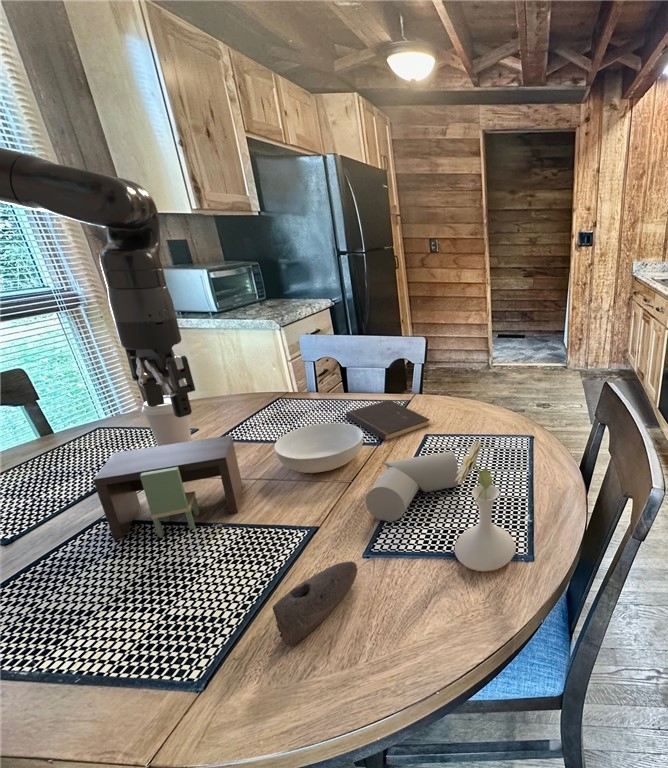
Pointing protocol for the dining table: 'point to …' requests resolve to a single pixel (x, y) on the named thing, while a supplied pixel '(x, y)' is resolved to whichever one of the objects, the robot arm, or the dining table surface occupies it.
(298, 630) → the perforated stone tool
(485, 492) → the flower in vase
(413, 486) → the l-shaped cylinder
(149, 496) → the chair
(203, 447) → the desk
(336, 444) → the serving bowl
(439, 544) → the dining table surface
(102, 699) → the dining table surface
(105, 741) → the dining table surface
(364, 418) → the hardcover book
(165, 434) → the coffee cup
